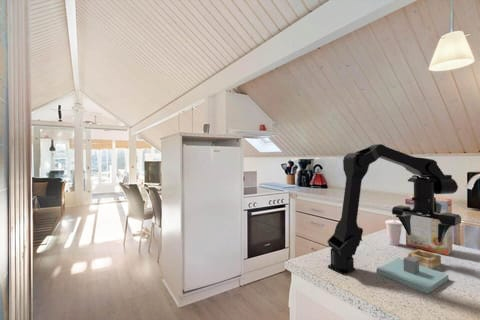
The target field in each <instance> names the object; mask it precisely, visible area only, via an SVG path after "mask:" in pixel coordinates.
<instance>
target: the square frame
mask: <svg viewBox="0 0 480 320" xmlns="http://www.w3.org/2000/svg"><path fill="white" fill-rule="evenodd" d="M407 255H408V256H409V257H412V258H416V259H419V265H420V266H423V267H426V268H429V269H432V270H435V268H437V267H439V266H440V265H441V264H442V255H441V254H440V255H439V254H437V253H434V252H430V251H427V250H426V251H425V250H423V249H420V248H417V249H414V250H413V251H412V250H411V252H409V253H408V254H407ZM408 256H407V257H408Z"/></svg>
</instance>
